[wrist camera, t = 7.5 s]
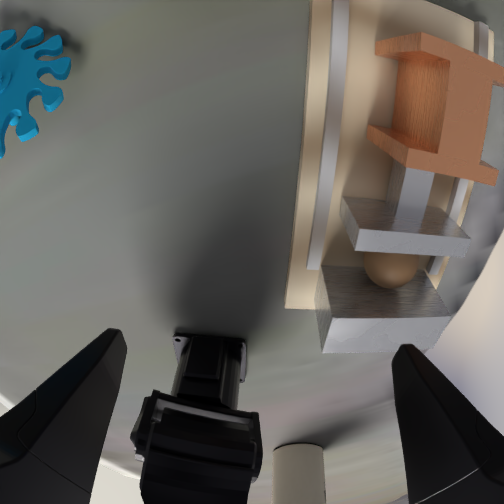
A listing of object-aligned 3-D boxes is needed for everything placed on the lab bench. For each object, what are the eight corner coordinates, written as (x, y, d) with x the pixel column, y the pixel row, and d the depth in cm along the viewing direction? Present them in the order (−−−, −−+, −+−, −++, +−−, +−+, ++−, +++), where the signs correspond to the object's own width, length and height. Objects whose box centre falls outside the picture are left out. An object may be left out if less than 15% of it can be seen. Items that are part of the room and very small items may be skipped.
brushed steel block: (410, 300, 22) (432, 348, 17) (313, 299, 22) (322, 353, 18) (423, 269, 20) (451, 316, 16) (320, 264, 20) (332, 318, 16)
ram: (436, 224, 18) (475, 271, 13) (338, 214, 18) (361, 267, 13) (466, 70, 12) (525, 80, 7) (359, 38, 12) (400, 25, 8)
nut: (398, 259, 20) (412, 300, 17) (352, 257, 20) (362, 299, 18) (416, 220, 17) (436, 261, 15) (366, 215, 18) (381, 258, 15)
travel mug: (266, 455, 43) (262, 551, 28) (283, 440, 38) (282, 551, 23) (309, 458, 44) (312, 549, 28) (331, 443, 39) (338, 546, 24)
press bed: (421, 300, 23) (429, 314, 22) (284, 297, 23) (285, 313, 22) (483, 32, 11) (499, 32, 10) (310, -21, 11) (314, -31, 10)
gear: (100, 75, 13) (-38, 193, 10) (98, 120, 19) (-4, 213, 15) (30, -4, 11) (-83, 83, 7) (35, 43, 16) (-56, 118, 12)
